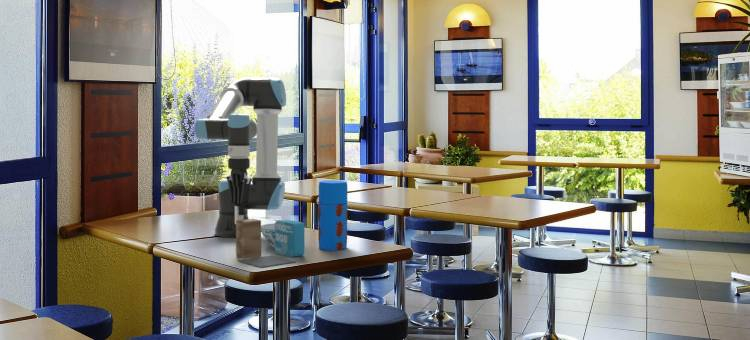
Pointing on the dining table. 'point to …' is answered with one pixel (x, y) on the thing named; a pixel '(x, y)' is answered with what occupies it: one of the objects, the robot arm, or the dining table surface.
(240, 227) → the block
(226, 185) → the robot arm
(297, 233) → the data package
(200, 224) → the dining table surface
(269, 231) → the chinaware
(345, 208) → the thermos
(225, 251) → the dining table surface
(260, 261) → the mat
